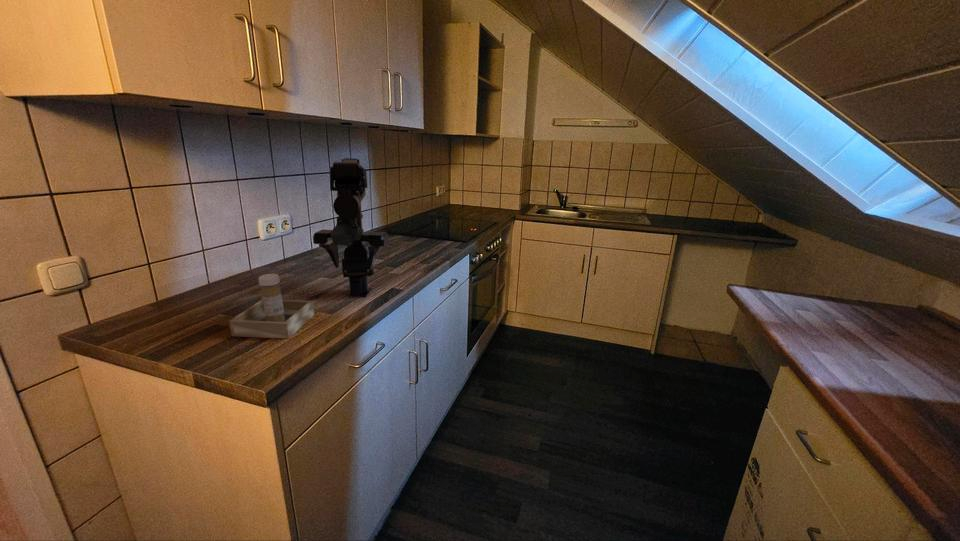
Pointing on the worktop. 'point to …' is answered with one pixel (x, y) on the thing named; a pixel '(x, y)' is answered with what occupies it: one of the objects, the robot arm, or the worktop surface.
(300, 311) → the peg box
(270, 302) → the sprinkles bottle
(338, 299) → the worktop surface
